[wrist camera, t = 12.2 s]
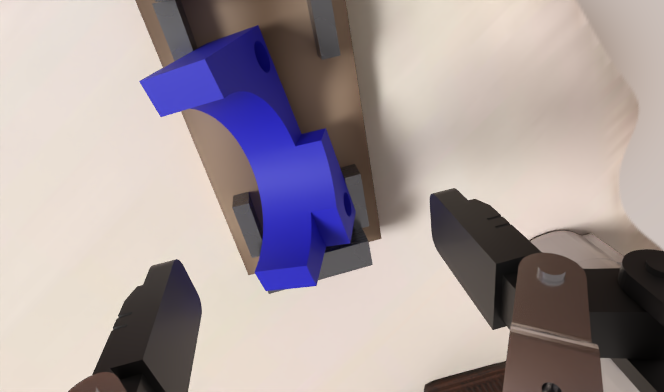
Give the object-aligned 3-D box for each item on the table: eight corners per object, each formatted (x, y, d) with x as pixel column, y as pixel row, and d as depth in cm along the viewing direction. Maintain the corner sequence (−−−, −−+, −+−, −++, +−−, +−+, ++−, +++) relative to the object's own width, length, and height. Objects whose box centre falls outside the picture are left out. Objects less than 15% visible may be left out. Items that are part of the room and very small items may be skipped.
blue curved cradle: (355, 211, 24) (343, 283, 19) (292, 222, 25) (265, 291, 20) (285, 15, 17) (240, 46, 13) (206, 43, 19) (139, 81, 14)
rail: (324, -94, 18) (344, -116, 14) (375, 227, 28) (394, 264, 25) (122, -52, 18) (86, -64, 14) (248, 261, 28) (248, 305, 24)
